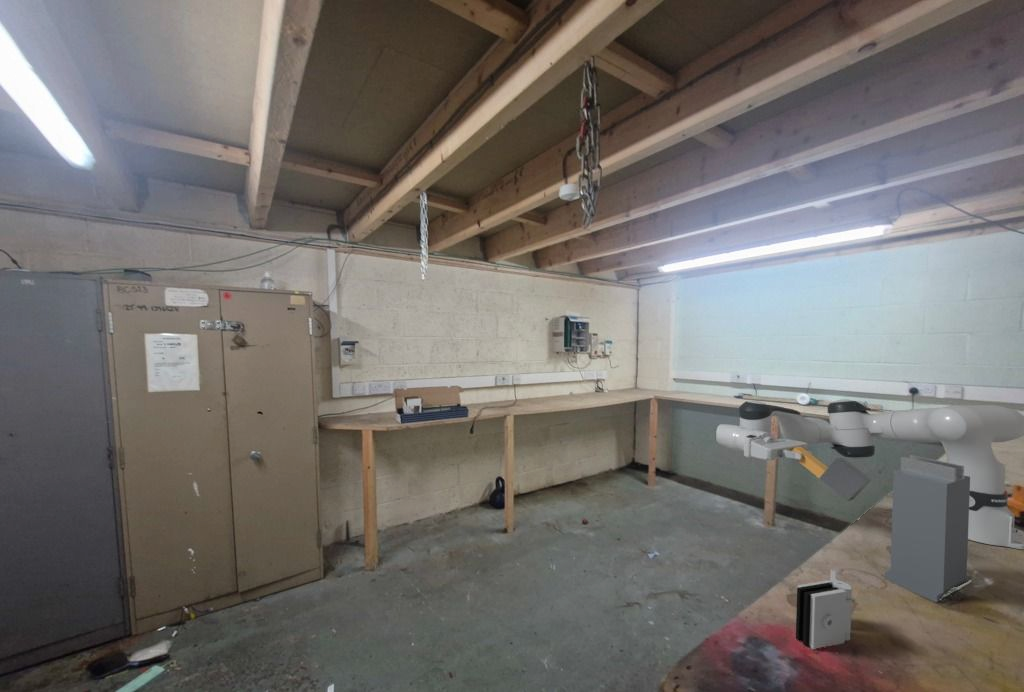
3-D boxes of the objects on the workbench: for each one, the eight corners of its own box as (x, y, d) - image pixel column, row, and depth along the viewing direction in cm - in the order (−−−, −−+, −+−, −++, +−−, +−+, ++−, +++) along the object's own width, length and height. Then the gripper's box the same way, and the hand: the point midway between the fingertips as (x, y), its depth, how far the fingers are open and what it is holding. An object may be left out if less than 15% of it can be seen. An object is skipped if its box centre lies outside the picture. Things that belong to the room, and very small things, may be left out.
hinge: (829, 616, 79) (831, 568, 79) (862, 634, 74) (864, 584, 74) (791, 637, 73) (793, 586, 73) (823, 659, 68) (826, 604, 68)
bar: (795, 453, 120) (810, 434, 116) (853, 499, 106) (872, 479, 102) (789, 454, 119) (804, 435, 115) (847, 501, 105) (866, 481, 101)
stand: (919, 562, 99) (923, 452, 99) (971, 582, 91) (976, 462, 90) (883, 578, 92) (887, 460, 92) (936, 602, 84) (941, 472, 83)
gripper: (780, 450, 132) (826, 462, 120) (740, 456, 124) (785, 470, 112) (780, 432, 132) (826, 442, 120) (741, 437, 124) (786, 449, 111)
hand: (806, 456), depth 115 cm, fingers closed on bar, 3 cm apart
